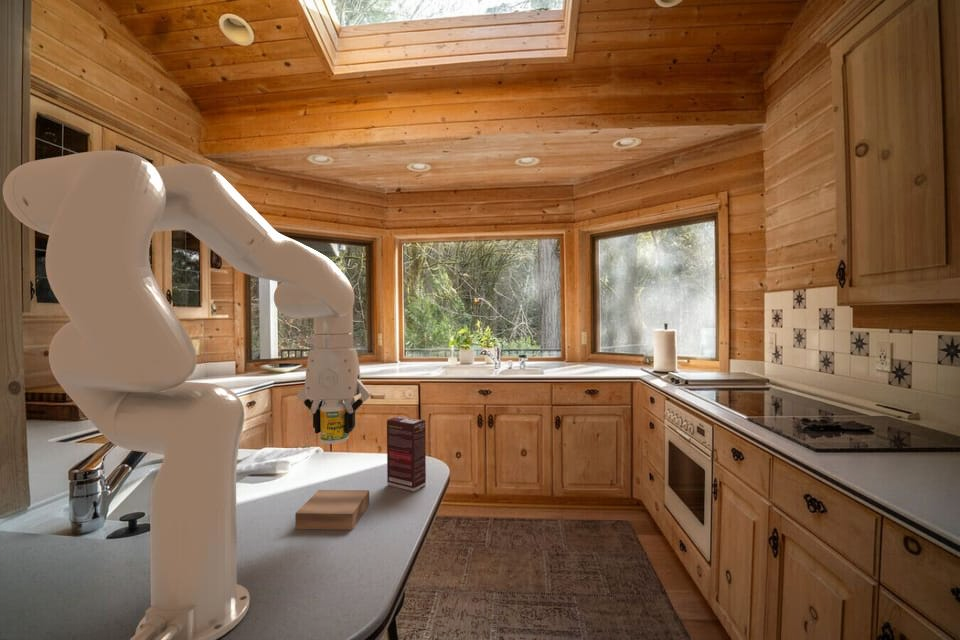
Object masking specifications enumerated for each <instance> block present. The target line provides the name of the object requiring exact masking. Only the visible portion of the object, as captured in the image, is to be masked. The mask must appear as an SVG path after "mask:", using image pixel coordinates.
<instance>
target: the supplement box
mask: <svg viewBox="0 0 960 640" xmlns="http://www.w3.org/2000/svg"><path fill="white" fill-rule="evenodd" d="M426 442H427V441H426V420H425V419H421V418H419V419H418V418H414V417H406V416H400V415H399V416H395V417H392V418H388V419H386V459H387V461H386V463H387V464H386V468H387V469H386V470H387V471H386V473H387V475H386V476H387V477H386V479H387V480H386V483H387V486H391V487H395V488H398V489H402V490H407V491H410V492H416V491H418V490H420V489H422V488H424V487H425V486H426V484H427V481H426V480H427V479H426V478H427V471H426V470H427V469H426V467H427V466H426V465H427V464H426V463H427V462H426V453H427V452H426V446H427V445H426ZM423 486H424V487H423ZM421 487H422V488H421Z"/></svg>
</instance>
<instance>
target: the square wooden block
mask: <svg viewBox="0 0 960 640" xmlns="http://www.w3.org/2000/svg"><path fill="white" fill-rule="evenodd" d="M369 505H370V490H369V489H367V490H366V489H356V490H355V489H354V490H353V489H352V490H349V489H318V490H317V491H316V492H315V493H314V494H313V495H312V496H311V497H310V498H309V499H308V500H307V501H306V502H305V503H304V504H303V505H302V506H301V507H300V508H298V510H297V511H296V512H295V518H294V519H295V523H294V524H295V529H296V530H348V531H349V530H354V529H355V527H356V525H357V523H358V522H359V521H360V519H361V517H362V516H363V515H364V513H365V512H366V510H367V508H368V507H369Z"/></svg>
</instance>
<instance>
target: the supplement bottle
mask: <svg viewBox="0 0 960 640" xmlns="http://www.w3.org/2000/svg"><path fill="white" fill-rule="evenodd" d="M346 413H347V409H346V406H345V403H344V400H324V402H323V405H322V406H321V408H320V425H321V432H320V441H321V443H322V444H326V445H332V444H333V445H335V444H340V443H344V442H346V441H348V439H349V433H345V414H346Z"/></svg>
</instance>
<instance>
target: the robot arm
mask: <svg viewBox="0 0 960 640" xmlns="http://www.w3.org/2000/svg"><path fill="white" fill-rule="evenodd" d="M2 195H3V201H4V203H5V205H6V207H7V209H8V210H9V212H10V213H11V214H12V215H13V217H15V218H16V219H17V220H18V221H19V222H20V223H22V224H23V225H25V226H26V227H28V228H29V229H32V230H34V231H36V232H38V233H41V234H44V235H48V236H49V237H48V239H47V245H46V250H45V251H46V252H45V273H46V278H47V280H48V283H49V286H50V289H51V291H52V292H53V295H54V296H55V298H56V299H57V302H58V303H59V304H60V306H61V307H62V310H64V312H65V315H67V316H68V319H69V320H70V321H69V322H67V323H65V324H64V325H63V326H62V327H61V328H59V330H58V331H57V332H56V333H55V335H54V336H53V338H52V340H51V342H50V344H49V345H50V346H49V349H48V363H49V367H50V370H51V372H52V375H53V377H54V378H55V380H56V381H57V384H59V385H60V387H61V388H62V389H63V391H64V392H65V393H66V394H67V396H69V398H70V399H71V400H72V401H73V402H74V403H75V405H76V406H77V407H78V408H79V410H81V412H82V413H83V414H84V415H85V416H86V418H87V419H88V421H90V422H91V424H92V425H94V427H95V428H96V429H97V430H98V432H100V433H101V434H102V436H104V437H105V438H106V440H108V441H109V442H110V443H112V444H113V445H115V446H117V447H119V448H121V449H124V450H128V451H134V452H142V453H149V454H158V455H162V456H163V460H162V463H161V465H160V467H159V471H158V473H156V476H155V479H154V481H153V482H152V483H153V484H152V486H151V490H150V496H149V497H150V498H149V517H150V518H149V519H150V520H149V521H150V523H149V525H150V526H149V527H150V534H149V536H150V540H149V541H150V542H149V543H150V607H149V608H148V609H146V610H145V615H144V616H143V617H142V618H141V620H140V621H139V622H138V625H137V626H136V629H135V633H134V635H133V636H132V637H131V638H130V639H129V640H218V639H219V638H221V637H223V636H224V635H226V634H227V633H228V632H230V631H231V630H233V628H235V627H236V626H237V625H238V624H240V622H241V621H243V618H244V617H246V614H247V612H248V611H249V607H250V604H251V602H250V601H251V598H250V597H251V595H250V593H249V590H248V589H247V588H246V587H245V586H243V585H241V584H238V577H237V576H238V575H237V573H238V572H237V570H238V566H237V565H238V561H237V558H238V555H237V553H238V552H237V548H238V547H237V545H238V544H237V543H238V541H237V540H238V539H237V535H238V534H237V533H238V532H237V531H238V530H237V528H238V527H237V517H238V516H237V513H238V512H237V466H238V456H239V449H240V444H241V443H240V442H241V439H242V436H243V435H242V434H243V430H244V423H245V408H244V405H243V403H242V401H241V399H240V398H239V396H238V395H237V394H236V393H235V392H233V391H232V390H231V389H229V388H227V387H224V386H222V385H219V384H216V383H209V382H198V381H197V382H196V381H195V382H194V381H188V380H189V379H190V378H191V377H192V376H193V374H194V372H195V370H196V368H197V362H198V360H197V359H198V358H197V357H198V355H197V351H196V348H195V346H194V344H193V342H192V339H191V337H190V336H189V333H187V330H186V329H185V327H184V326H183V324H182V322H181V321H180V319H179V317H178V316H177V313H175V311H174V309H173V308H172V305H171V304H170V303H169V301H168V299H167V298H166V296H165V294H164V292H163V290H162V289H161V287H160V285H159V284H158V281H157V279H156V277H155V275H154V273H153V270H152V267H151V263H150V262H151V261H150V247H151V241H152V238H153V235H154V233H155V232H156V233H157V232H170V231H171V232H172V231H186V232H188V233H190V235H193V236H194V237H195V238H196V239H198V240H199V241H200V242H201V243H202V244H204V245H205V246H207V247H208V248H209V249H211V251H213V252H214V253H215V254H216V255H217V256H219V258H222V260H223V261H225V262H226V263H227V264H228V265H230V266H231V267H232V268H233V269H235V270H236V271H238V272H241V273H243V274H246V275H248V276H253V277H255V278H259V279H263V280H269V281H273V282H280V283H279V284H278V285H277V287H276V288H275V291H274V293H273V303H274V305H275V307H276V309H277V310H278V311H279V312H280V313H281V314H283V316H284V315H285V316H286V317H289V318H292V319H293V318H294V319H313V334H312V336H311V337H310V336H309V337H307V338H306V339H307V341H306V342H307V344H308V345H309V344H310V345H312V348H313V349H309V351H308V356H307V363H306V368H305V369H306V370H305V380H304V385H303V386H302V387H301V388H300V390H299V391H298V392H297V394H296V397H297V399H298V400H300V401H301V402H302V403H303V404H304V405H305V406H306V407H307V409H308V410H310V413H311V414H312V427H313V429H314V434H320V433H321V425H320V408H321V406H322V405H323V404H324V403H325V402H324V400H343V402H344V403H345V406H346V409H347V413H346V414H345V433H348V434H350V433H351V432H352V431H354V429H355V428H356V411H357V410H358V409H359V408H360V407H361V406H362V405H363V404H364V403H365V402H366V401H367V400H369V399H370V398H371V397H372V392H370V390H368V388H367V386H366V385H365V384H364V383H363V382H362V381H361V369H360V363H359V362H360V361H359V357H358V351H357V349H356V348H354V305H355V298H356V297H355V291H354V288H353V286H352V284H351V281H350V280H349V279H348V277H347V276H346V274H344V272H342V271H341V269H340V268H339V267H338V266H337V265H336V264H335V263H334V262H333V261H332V260H331V259H330V258H328V257H327V256H326V255H324V254H323V253H320V252H319V251H318V250H315V249H313V248H311V247H309V246H307V245H305V244H304V243H302V242H299V241H297V240H295V239H293V238H290V237H289V236H286V235H284V234H282V233H280V232H279V231H277V230H276V229H275V228H274V227H273V226H272V225H271V224H270V223H269V222H268V221H267V220H266V219H265V218H264V217H263V216H262V215H261V214H260V213H259V212H258V211H257V210H256V209H255V208H254V207H253V206H252V205H251V204H250V203H249V202H248V201H247V200H246V199H245V197H244V196H243V195H241V194H240V192H239V191H237V189H236V188H235V187H234V186H233V185H232V184H231V183H230V182H229V180H227V179H226V178H225V177H224V176H223V175H222V174H220V173H219V172H218V171H217V170H215V169H213V168H212V167H210V166H208V165H204V164H200V163H193V162H192V163H191V162H190V163H188V162H187V163H178V164H169V165H163V166H156V167H155V166H154V165H153V164H152V163H151V162H149V161H148V160H147V159H145V158H143V157H142V156H140V155H137V154H136V153H132V152H129V151H128V152H127V151H124V150H123V151H122V150H114V149H113V150H111V149H110V150H108V149H107V150H93V151H86V152H79V153H72V154H68V155H67V154H66V155H61V156H55V157H48V158H44V159H43V158H42V159H37V160H31V161H28V162H25V163H23V164H21V165H18V166H16V167H15V168H14V169H13V170H11V171H10V173H8V175H7V176H6V178H5V180H4V183H3V186H2ZM359 394H360V395H361V396H360V397H358V399H357V400H355V399H356V398H355V397H357V396H358V395H359Z"/></svg>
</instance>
